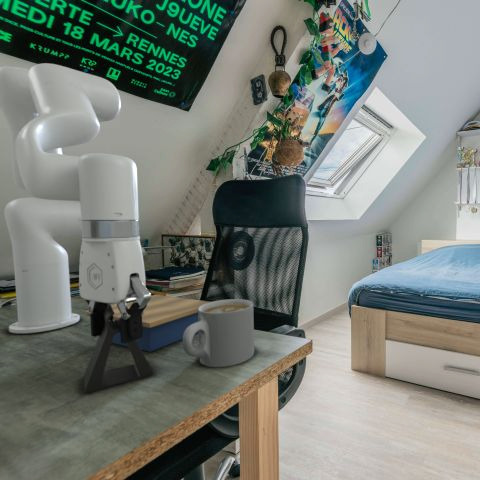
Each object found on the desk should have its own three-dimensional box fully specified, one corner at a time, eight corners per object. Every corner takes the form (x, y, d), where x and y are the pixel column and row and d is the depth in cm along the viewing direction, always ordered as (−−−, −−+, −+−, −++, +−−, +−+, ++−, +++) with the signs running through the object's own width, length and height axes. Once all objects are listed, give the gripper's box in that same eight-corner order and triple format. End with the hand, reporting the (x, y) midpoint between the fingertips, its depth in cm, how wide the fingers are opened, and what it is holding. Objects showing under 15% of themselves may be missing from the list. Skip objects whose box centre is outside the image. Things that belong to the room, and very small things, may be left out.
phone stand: (84, 394, 49) (80, 317, 48) (83, 379, 54) (79, 309, 53) (153, 375, 55) (150, 306, 54) (147, 363, 60) (144, 299, 59)
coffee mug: (239, 341, 70) (238, 296, 69) (263, 355, 63) (262, 305, 63) (172, 361, 60) (170, 309, 60) (191, 379, 54) (189, 321, 53)
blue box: (106, 341, 70) (104, 314, 69) (158, 324, 81) (157, 301, 80) (150, 351, 65) (149, 322, 64) (199, 332, 76) (199, 307, 75)
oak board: (85, 315, 69) (85, 311, 69) (156, 298, 83) (156, 294, 83) (149, 328, 61) (149, 322, 61) (215, 306, 76) (215, 302, 76)
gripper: (52, 231, 52) (59, 337, 54) (122, 233, 46) (128, 354, 47) (103, 229, 59) (108, 323, 61) (170, 231, 53) (174, 336, 54)
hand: (117, 336), depth 54 cm, fingers closed on phone stand, 6 cm apart
